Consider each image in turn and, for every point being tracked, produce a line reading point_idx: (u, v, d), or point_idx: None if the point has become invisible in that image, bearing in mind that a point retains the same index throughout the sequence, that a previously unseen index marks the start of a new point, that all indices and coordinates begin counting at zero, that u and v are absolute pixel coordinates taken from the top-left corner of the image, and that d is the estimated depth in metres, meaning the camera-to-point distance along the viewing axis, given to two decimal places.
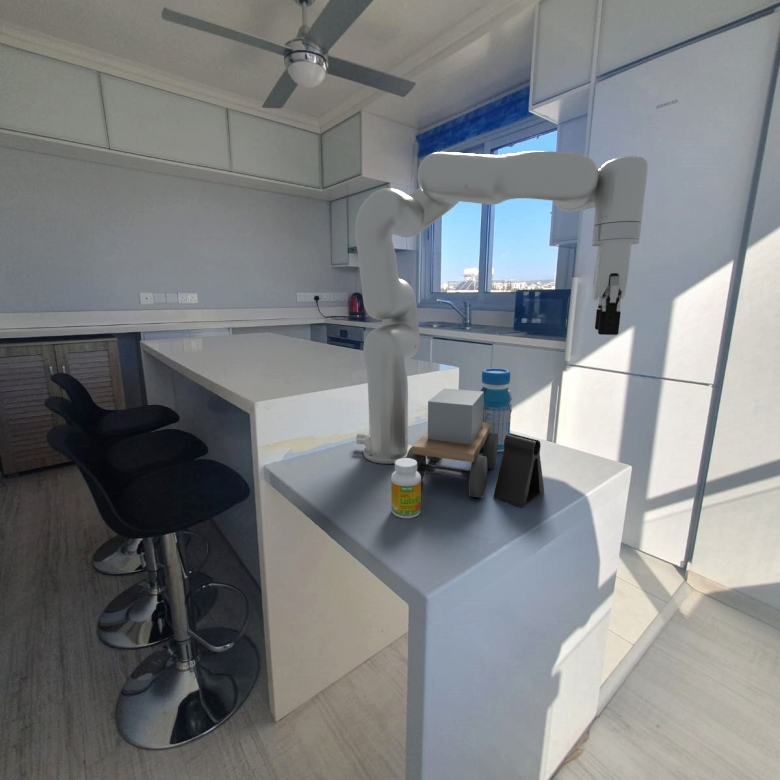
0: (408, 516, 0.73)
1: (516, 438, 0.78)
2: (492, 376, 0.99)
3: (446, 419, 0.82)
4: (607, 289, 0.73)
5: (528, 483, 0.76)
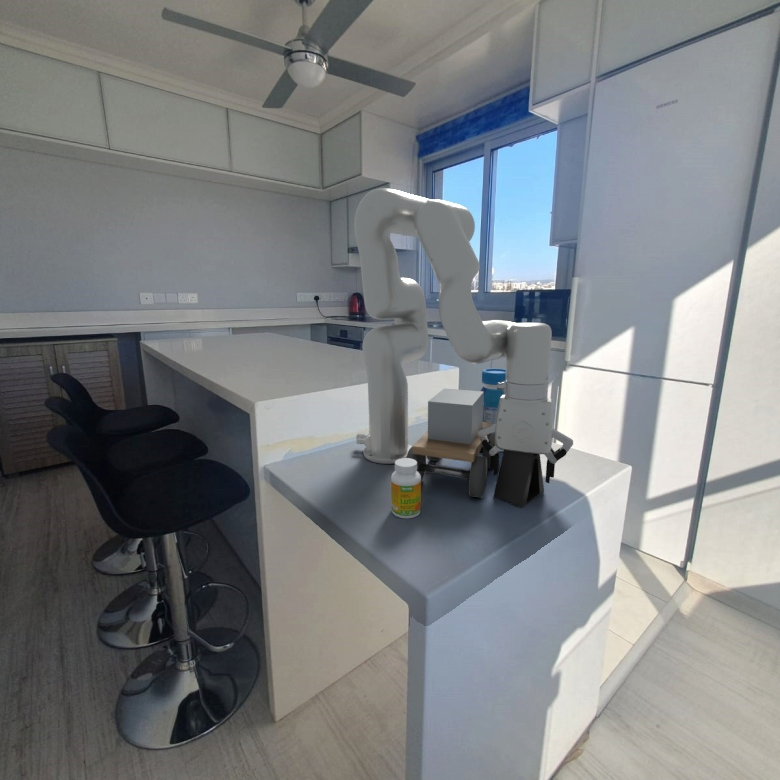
0: (408, 516, 0.73)
1: None
2: (492, 376, 0.99)
3: (446, 419, 0.82)
4: None
5: (528, 483, 0.76)
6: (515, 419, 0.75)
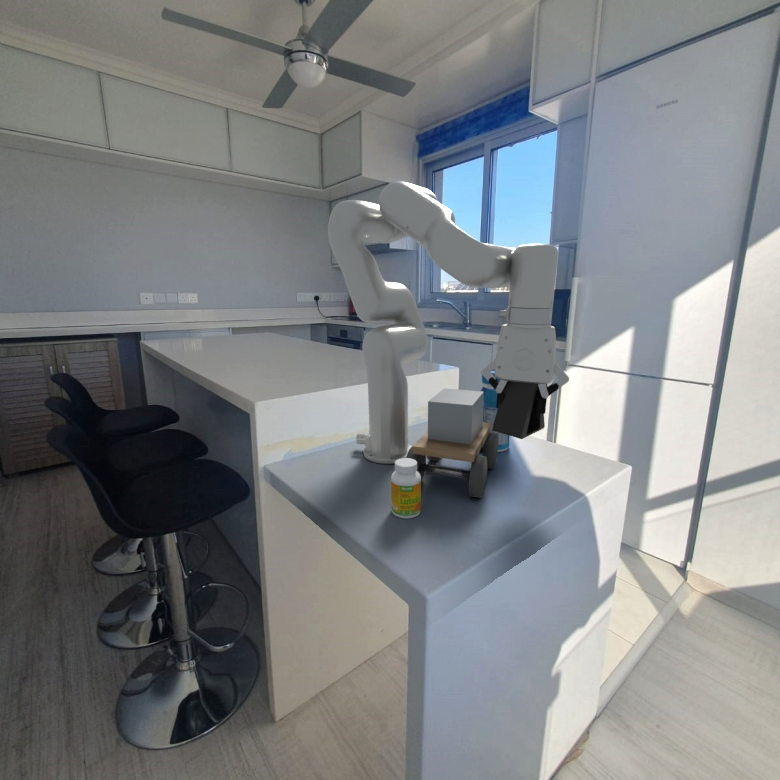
0: (408, 516, 0.73)
1: None
2: None
3: (446, 419, 0.82)
4: None
5: (529, 414, 0.74)
6: (517, 347, 0.72)
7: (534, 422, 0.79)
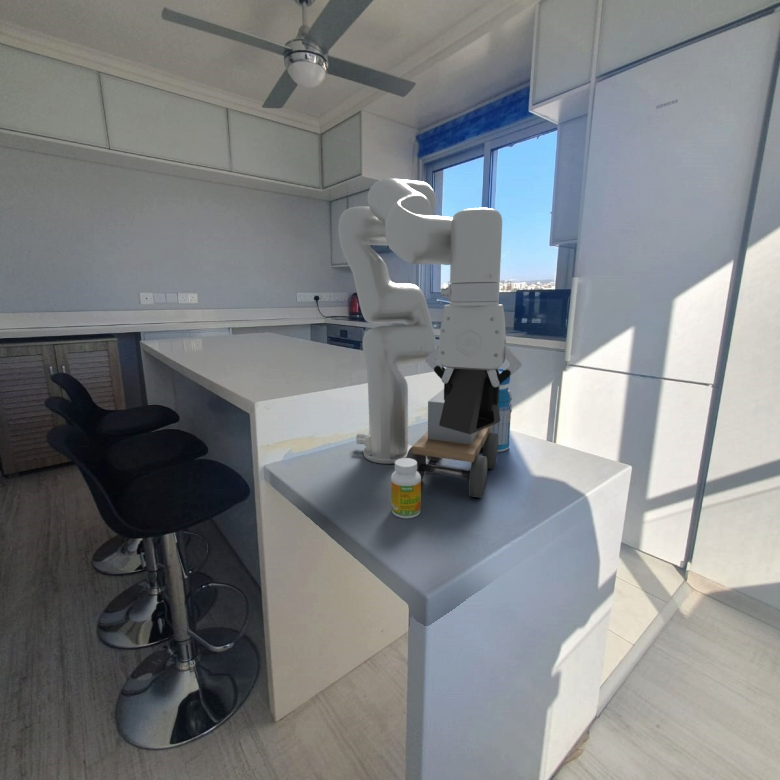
0: (408, 516, 0.73)
1: None
2: None
3: None
4: None
5: (477, 405, 0.64)
6: (460, 328, 0.63)
7: (488, 415, 0.69)
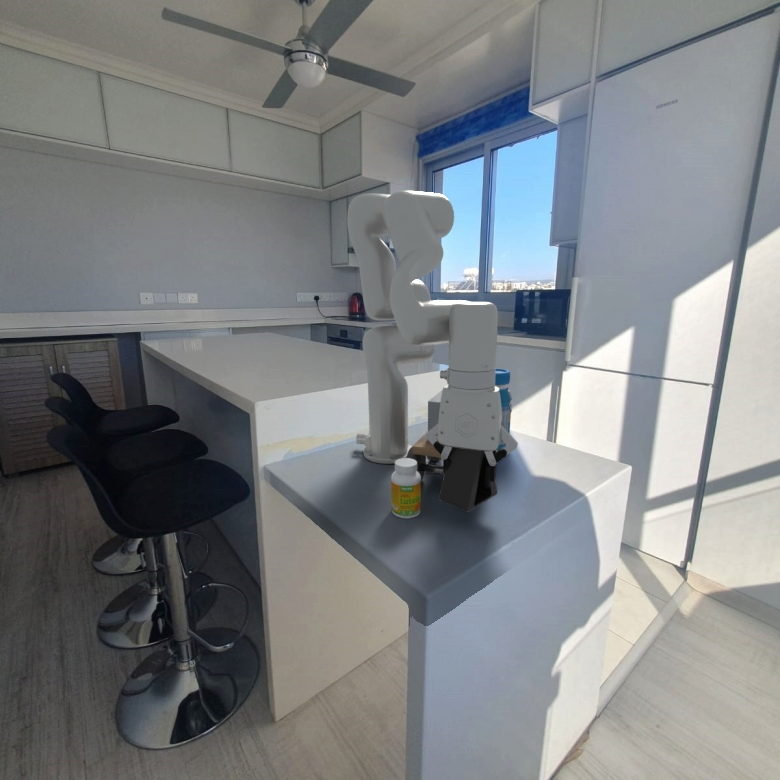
0: (408, 516, 0.73)
1: None
2: None
3: None
4: None
5: (475, 484, 0.67)
6: (458, 411, 0.66)
7: (485, 488, 0.72)
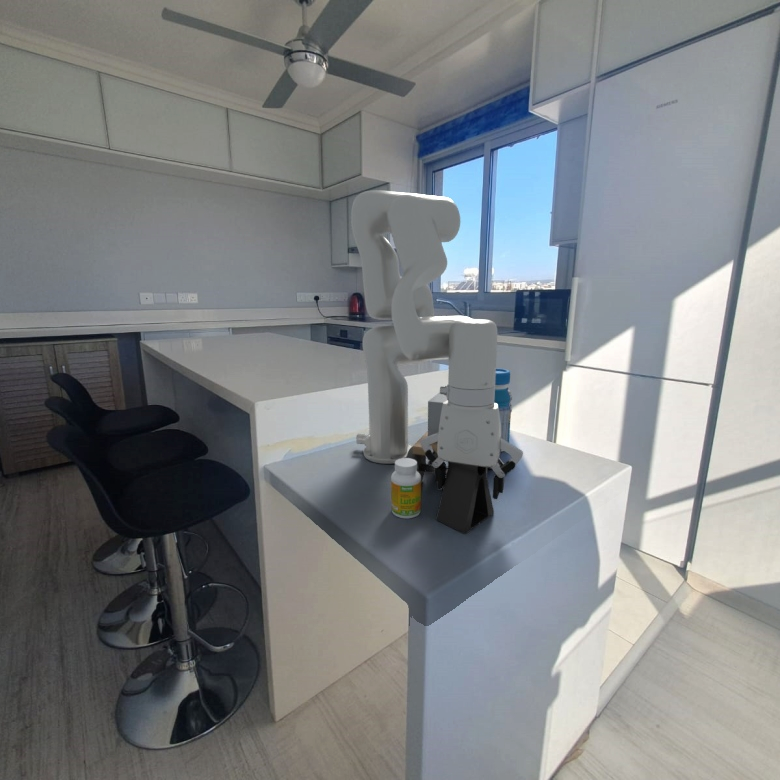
0: (408, 516, 0.73)
1: None
2: None
3: None
4: None
5: (472, 506, 0.69)
6: (458, 428, 0.67)
7: (482, 509, 0.73)
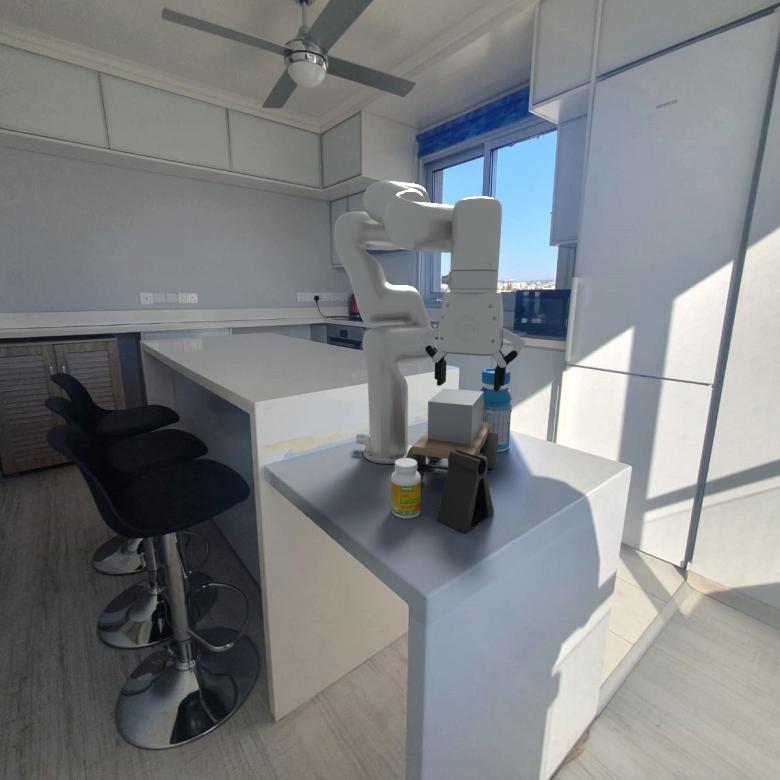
0: (408, 516, 0.73)
1: (460, 455, 0.70)
2: (492, 376, 0.99)
3: (446, 419, 0.82)
4: None
5: (472, 506, 0.69)
6: (459, 315, 0.65)
7: (482, 509, 0.73)
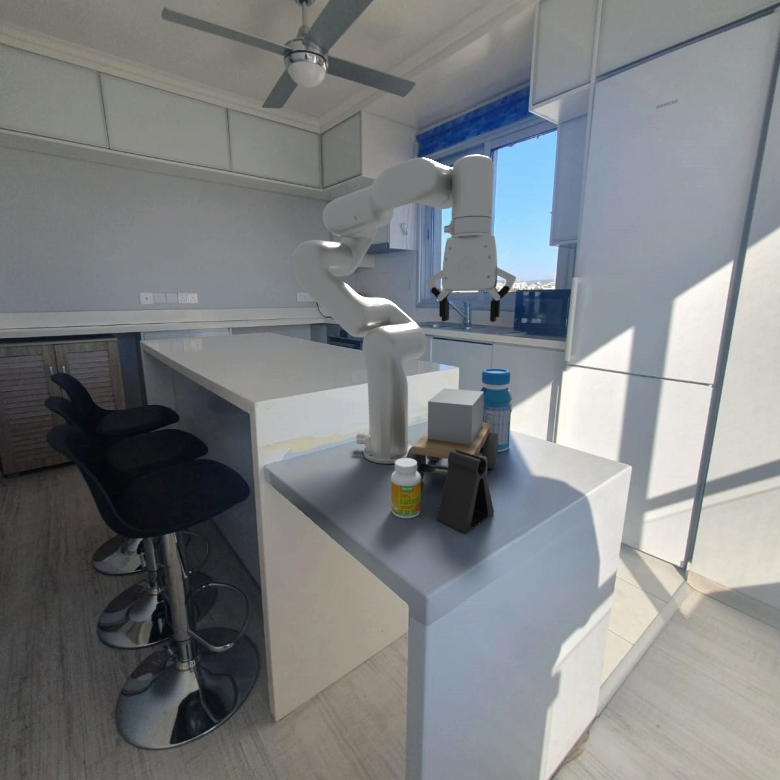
0: (408, 516, 0.73)
1: (460, 455, 0.70)
2: (492, 376, 0.99)
3: (446, 419, 0.82)
4: None
5: (472, 506, 0.69)
6: (460, 256, 0.77)
7: (482, 509, 0.73)
